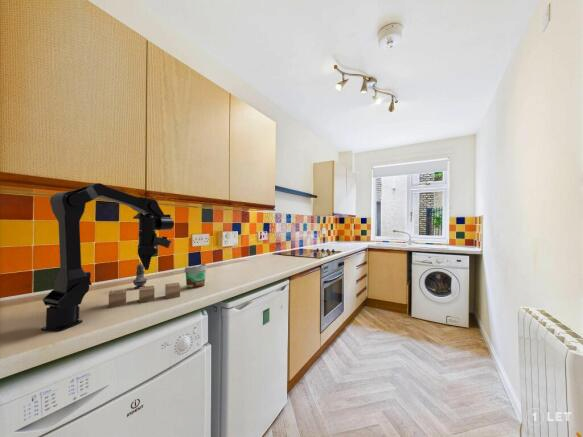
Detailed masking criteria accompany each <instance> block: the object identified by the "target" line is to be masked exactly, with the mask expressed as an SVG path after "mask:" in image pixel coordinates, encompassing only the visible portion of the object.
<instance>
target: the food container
mask: <svg viewBox="0 0 583 437" xmlns="http://www.w3.org/2000/svg"><path fill="white" fill-rule="evenodd" d="M207 270H208V266H207V264H205V263H201V265H198V266H197V265H196V266H195V265H194V266H192V267H190V266H189V267H184V273H185V282H186V283H185V284H186V286H185V287H186V289H191V290H193V289H199V288H204V287H205V282H206V271H207Z"/></svg>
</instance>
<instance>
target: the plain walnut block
mask: <svg viewBox="0 0 583 437" xmlns="http://www.w3.org/2000/svg"><path fill="white" fill-rule="evenodd" d="M145 286H146V285H145ZM138 290H139V292H138V293H139V294H138V300H139V301H138V304H142V303H150V302H155V286H154V285H149V286H148V285H147V286H146V287H139V289H138Z"/></svg>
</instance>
